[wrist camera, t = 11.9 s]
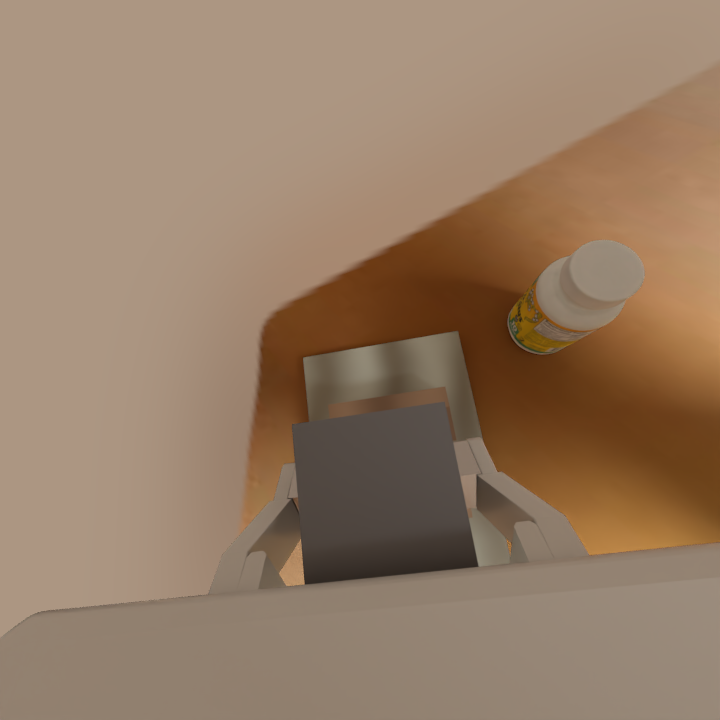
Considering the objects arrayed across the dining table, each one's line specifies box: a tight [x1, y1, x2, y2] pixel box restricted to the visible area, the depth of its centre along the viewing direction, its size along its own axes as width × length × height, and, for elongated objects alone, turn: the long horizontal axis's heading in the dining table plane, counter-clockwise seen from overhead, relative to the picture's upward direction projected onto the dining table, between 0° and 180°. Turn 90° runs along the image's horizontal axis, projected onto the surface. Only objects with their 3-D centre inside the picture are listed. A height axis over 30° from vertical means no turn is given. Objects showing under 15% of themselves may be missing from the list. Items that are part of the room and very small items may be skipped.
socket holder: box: [303, 331, 510, 567], centre depth 24 cm, size 14×19×4 cm
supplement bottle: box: [507, 240, 645, 354], centre depth 23 cm, size 5×5×10 cm
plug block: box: [292, 402, 479, 585], centre depth 12 cm, size 4×4×8 cm
